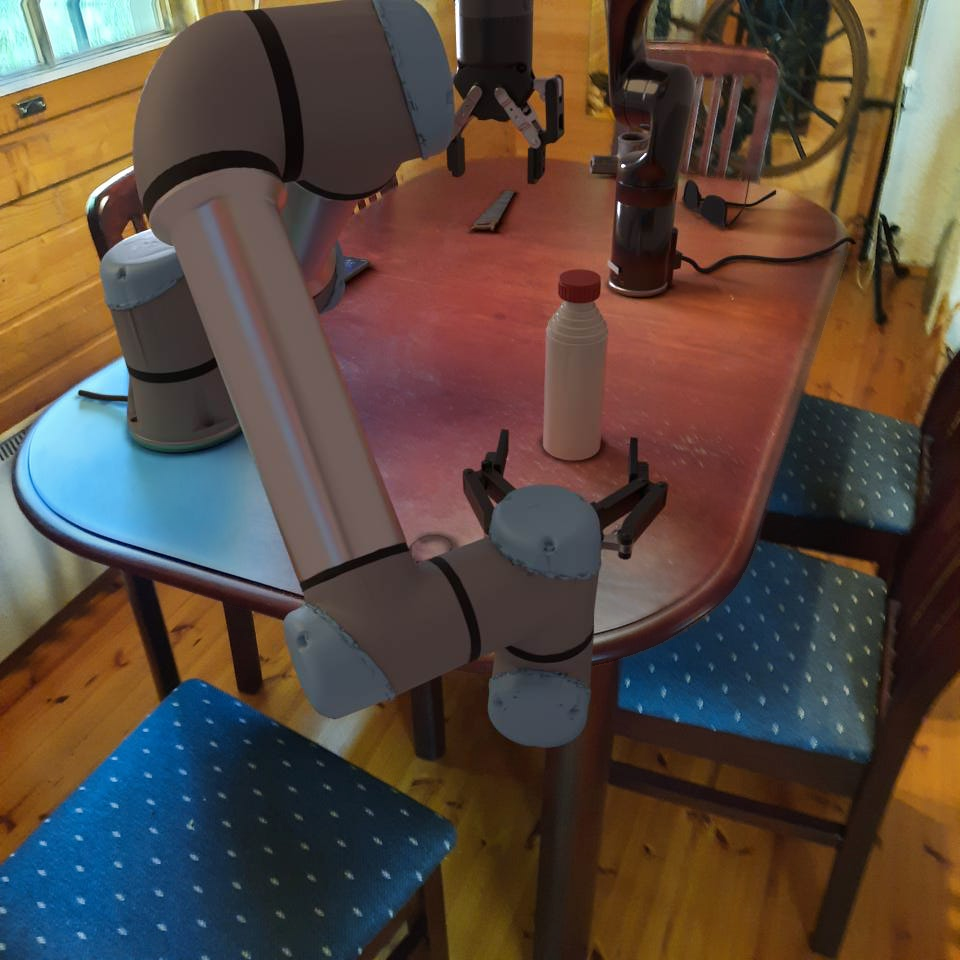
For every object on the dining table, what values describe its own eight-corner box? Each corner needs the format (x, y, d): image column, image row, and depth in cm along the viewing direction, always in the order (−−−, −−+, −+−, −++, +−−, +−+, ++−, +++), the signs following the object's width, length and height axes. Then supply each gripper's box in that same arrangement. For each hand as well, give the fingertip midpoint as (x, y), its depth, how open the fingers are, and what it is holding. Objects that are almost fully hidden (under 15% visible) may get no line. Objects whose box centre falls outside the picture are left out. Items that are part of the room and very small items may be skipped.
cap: (572, 307, 89) (573, 289, 87) (550, 291, 92) (550, 274, 91) (608, 298, 90) (609, 280, 89) (585, 283, 93) (586, 265, 92)
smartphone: (285, 286, 139) (337, 253, 150) (286, 292, 139) (338, 259, 150) (322, 293, 136) (373, 259, 147) (323, 299, 137) (373, 264, 147)
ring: (393, 566, 86) (392, 558, 85) (426, 530, 90) (425, 523, 89) (428, 579, 84) (428, 572, 83) (460, 542, 88) (460, 535, 88)
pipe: (587, 172, 186) (589, 134, 181) (645, 169, 187) (649, 131, 182) (593, 181, 181) (595, 142, 176) (652, 178, 182) (656, 139, 177)
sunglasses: (787, 221, 160) (792, 194, 157) (718, 230, 157) (722, 203, 154) (740, 193, 173) (744, 168, 170) (675, 201, 170) (678, 176, 167)
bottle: (562, 467, 99) (569, 300, 86) (532, 438, 104) (535, 276, 91) (611, 450, 101) (625, 285, 89) (580, 423, 106) (589, 263, 94)
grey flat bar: (493, 190, 178) (493, 187, 178) (515, 191, 177) (515, 188, 177) (468, 231, 159) (468, 228, 159) (493, 232, 158) (493, 229, 158)
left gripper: (415, 598, 78) (454, 464, 95) (693, 624, 75) (683, 480, 92) (409, 536, 74) (451, 406, 91) (705, 560, 70) (692, 421, 87)
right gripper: (576, 4, 83) (569, 174, 92) (441, 0, 87) (447, 163, 97) (554, 16, 77) (548, 196, 87) (410, 11, 81) (420, 183, 91)
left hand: (568, 443), depth 91 cm, fingers open, 13 cm apart
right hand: (495, 178), depth 92 cm, fingers open, 8 cm apart
